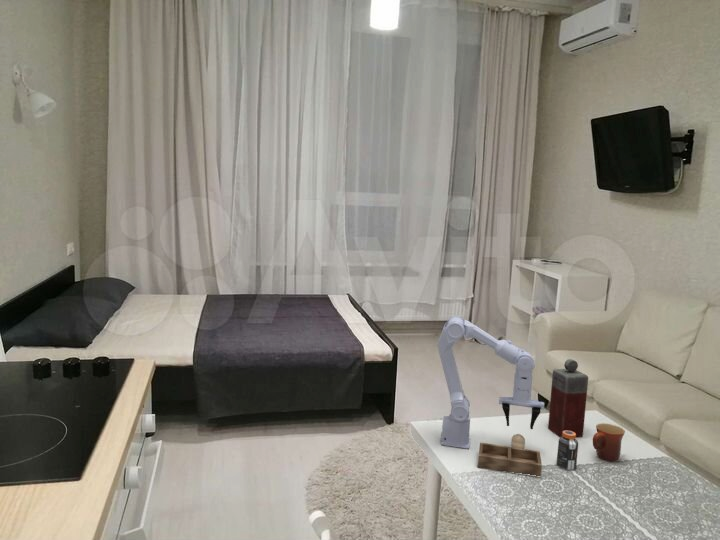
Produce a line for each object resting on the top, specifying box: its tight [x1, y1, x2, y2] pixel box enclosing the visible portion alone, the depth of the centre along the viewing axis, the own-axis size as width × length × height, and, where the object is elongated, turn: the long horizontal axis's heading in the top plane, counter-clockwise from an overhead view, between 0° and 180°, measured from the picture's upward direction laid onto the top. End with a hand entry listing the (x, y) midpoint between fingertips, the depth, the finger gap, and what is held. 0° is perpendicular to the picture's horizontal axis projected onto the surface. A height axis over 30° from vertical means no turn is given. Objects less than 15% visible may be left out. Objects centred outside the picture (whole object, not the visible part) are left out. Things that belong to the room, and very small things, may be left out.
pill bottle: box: [556, 430, 579, 471], centre depth 170 cm, size 6×6×11 cm
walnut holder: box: [477, 442, 543, 477], centre depth 169 cm, size 19×10×4 cm, turn 75°
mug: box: [592, 422, 626, 463], centre depth 176 cm, size 12×9×10 cm
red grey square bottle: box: [547, 358, 589, 439], centre depth 196 cm, size 9×11×28 cm
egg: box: [510, 433, 526, 449], centre depth 180 cm, size 4×4×6 cm
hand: (519, 426), depth 179 cm, fingers open, 7 cm apart
